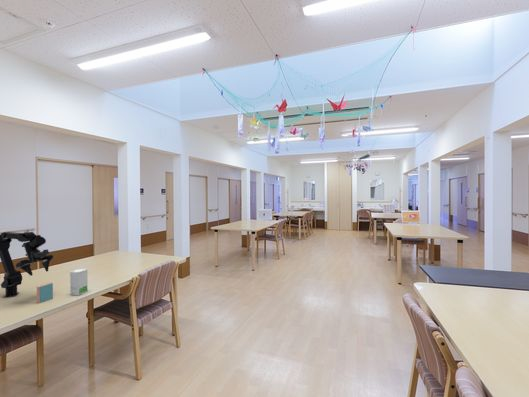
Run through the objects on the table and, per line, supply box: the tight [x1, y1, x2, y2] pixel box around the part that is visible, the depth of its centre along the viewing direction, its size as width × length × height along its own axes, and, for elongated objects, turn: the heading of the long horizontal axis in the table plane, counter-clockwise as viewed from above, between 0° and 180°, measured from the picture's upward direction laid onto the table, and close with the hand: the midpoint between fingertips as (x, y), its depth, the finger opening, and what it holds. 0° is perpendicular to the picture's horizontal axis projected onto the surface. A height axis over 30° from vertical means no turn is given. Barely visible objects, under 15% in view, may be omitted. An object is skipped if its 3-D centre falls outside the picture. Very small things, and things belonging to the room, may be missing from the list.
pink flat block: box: [36, 282, 54, 304], centre depth 170 cm, size 2×8×10 cm, turn 164°
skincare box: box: [69, 268, 89, 296], centre depth 182 cm, size 8×7×16 cm
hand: (39, 273), depth 171 cm, fingers open, 9 cm apart
